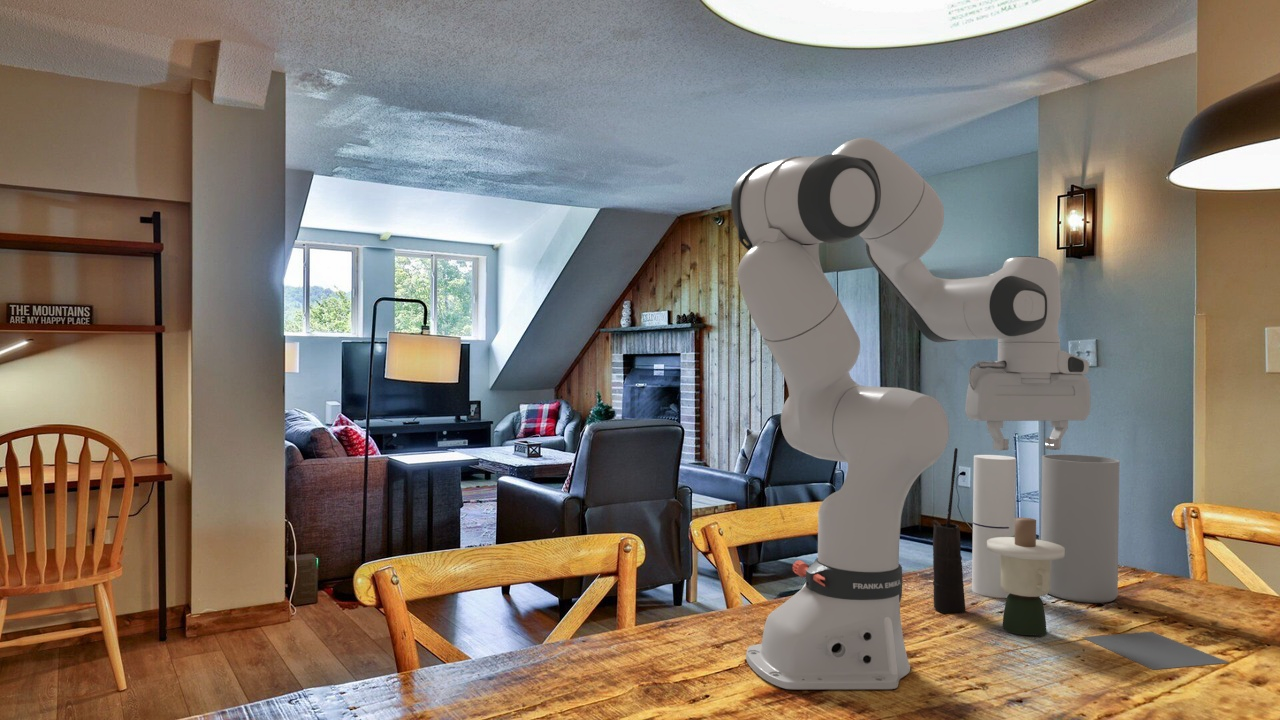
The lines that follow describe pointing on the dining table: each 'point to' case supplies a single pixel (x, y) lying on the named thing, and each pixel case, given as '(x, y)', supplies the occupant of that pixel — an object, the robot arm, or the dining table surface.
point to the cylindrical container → (991, 519)
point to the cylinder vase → (1082, 525)
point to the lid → (1025, 543)
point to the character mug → (1025, 594)
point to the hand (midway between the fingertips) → (1027, 449)
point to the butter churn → (948, 562)
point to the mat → (1154, 650)
